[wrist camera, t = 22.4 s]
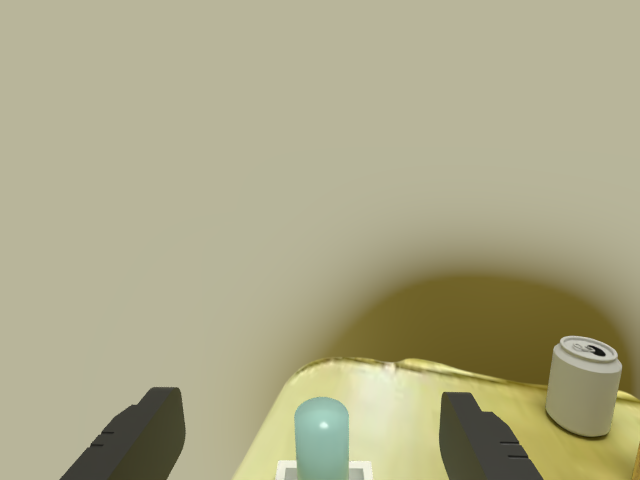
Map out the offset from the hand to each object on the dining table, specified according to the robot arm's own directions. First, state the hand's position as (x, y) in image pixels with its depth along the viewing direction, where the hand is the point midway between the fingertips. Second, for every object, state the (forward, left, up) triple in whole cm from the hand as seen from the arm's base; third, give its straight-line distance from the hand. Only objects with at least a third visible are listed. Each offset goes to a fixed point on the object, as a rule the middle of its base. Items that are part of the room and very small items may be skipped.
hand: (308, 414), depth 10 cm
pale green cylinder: (+1, -19, -29) cm, 35 cm away
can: (-35, -34, -30) cm, 58 cm away
